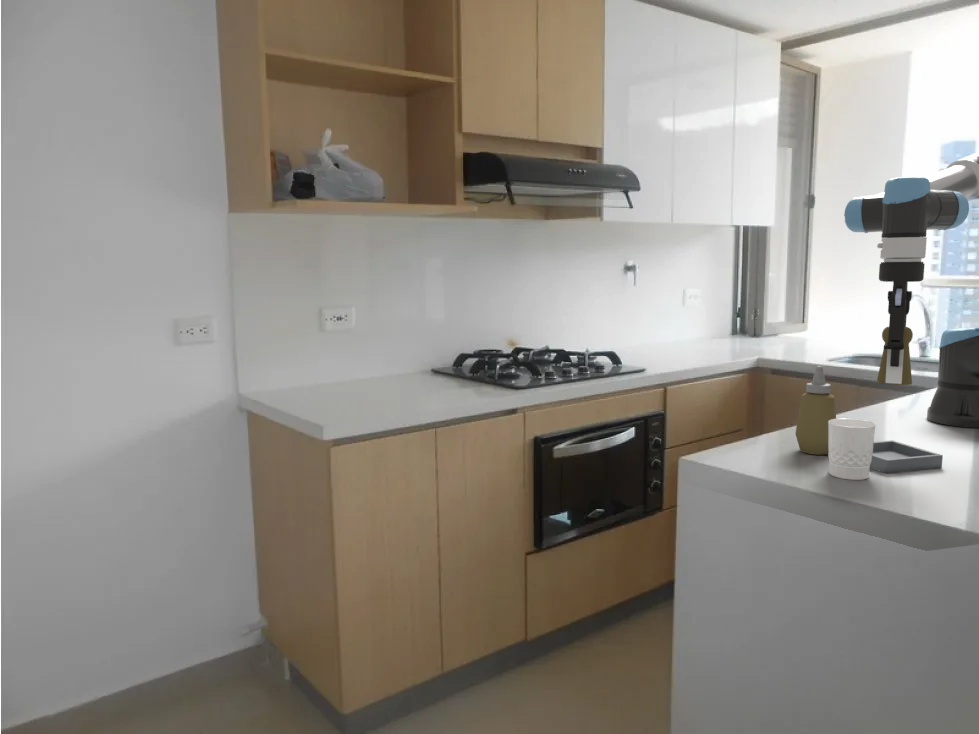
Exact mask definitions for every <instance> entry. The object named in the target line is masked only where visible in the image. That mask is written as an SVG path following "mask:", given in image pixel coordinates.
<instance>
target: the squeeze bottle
mask: <svg viewBox="0 0 979 734" xmlns="http://www.w3.org/2000/svg"><path fill="white" fill-rule="evenodd" d="M814 370H815V371H814V373H813V378H812V381H811V382H807V383H806V388H805V393H803V394H802V395H801V396H800V403H799V409H798V415H797V423H796V428H795V437H796V440H797V443H798V444H797V445H798V447H799V450H800V451H801V452H803V453H805V454H809V455H819V456H820V455H821V456H822V455H828V453H829V449H828V421H829V420H831V419H837V412H836V411H837V410H836V409H837V408H836V397H835V396H834V395H833V394H831V391H832V390H831V389H832V388H831V383H826V377H825V373H824V368H823V366H820V365H817V366H816V368H815V369H814Z"/></svg>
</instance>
